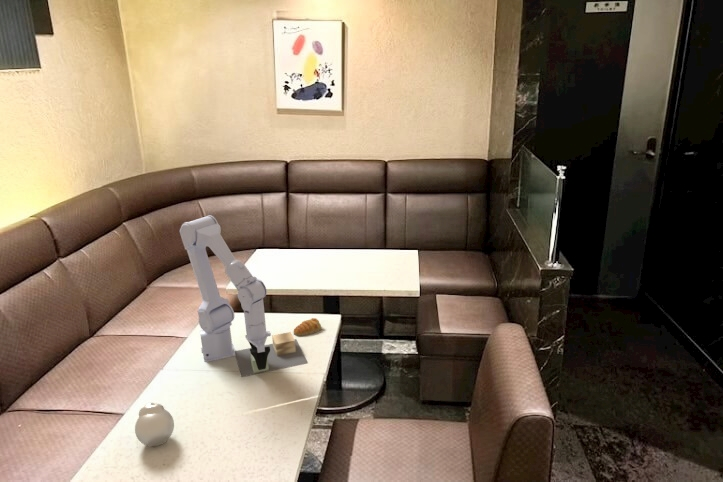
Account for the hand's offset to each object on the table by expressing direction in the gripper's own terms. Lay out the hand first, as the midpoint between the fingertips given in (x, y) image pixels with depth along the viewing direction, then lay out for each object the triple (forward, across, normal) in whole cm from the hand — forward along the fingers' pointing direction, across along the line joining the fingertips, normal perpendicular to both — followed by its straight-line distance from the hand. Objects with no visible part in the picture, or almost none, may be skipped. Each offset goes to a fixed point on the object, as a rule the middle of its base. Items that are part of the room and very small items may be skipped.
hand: (259, 362), depth 160 cm
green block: (+2, 0, 0) cm, 2 cm away
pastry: (+3, +18, -19) cm, 26 cm away
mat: (+2, +5, -4) cm, 7 cm away
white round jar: (+2, -23, +29) cm, 37 cm away
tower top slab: (0, +8, -9) cm, 12 cm away
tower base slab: (+2, +8, -9) cm, 12 cm away
